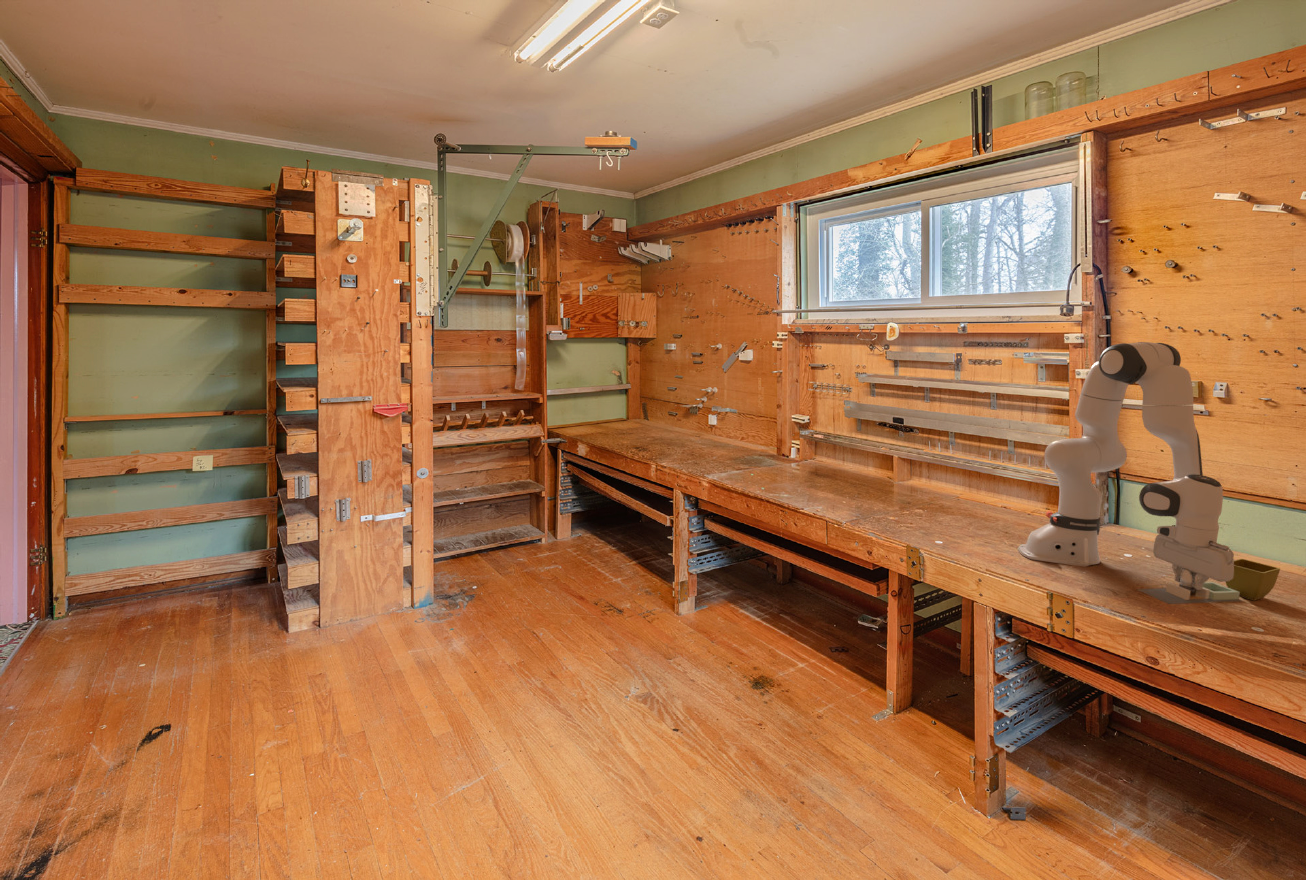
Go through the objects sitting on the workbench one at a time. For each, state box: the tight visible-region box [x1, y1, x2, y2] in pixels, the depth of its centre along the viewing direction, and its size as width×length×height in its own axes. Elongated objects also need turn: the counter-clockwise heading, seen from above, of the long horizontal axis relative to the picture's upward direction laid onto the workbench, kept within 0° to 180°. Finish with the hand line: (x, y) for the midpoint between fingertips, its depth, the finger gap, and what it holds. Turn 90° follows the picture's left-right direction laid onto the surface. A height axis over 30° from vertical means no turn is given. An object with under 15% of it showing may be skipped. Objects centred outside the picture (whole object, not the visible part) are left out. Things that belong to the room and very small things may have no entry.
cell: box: [1178, 568, 1198, 597], centre depth 174 cm, size 4×4×8 cm
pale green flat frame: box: [1203, 581, 1240, 600], centre depth 176 cm, size 8×8×2 cm
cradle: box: [1165, 582, 1210, 600], centre depth 175 cm, size 7×6×2 cm
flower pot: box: [1225, 558, 1281, 601], centre depth 177 cm, size 9×9×9 cm
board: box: [1136, 587, 1243, 605], centre depth 175 cm, size 22×10×1 cm, turn 97°
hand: (1188, 585), depth 175 cm, fingers closed on cell, 4 cm apart
